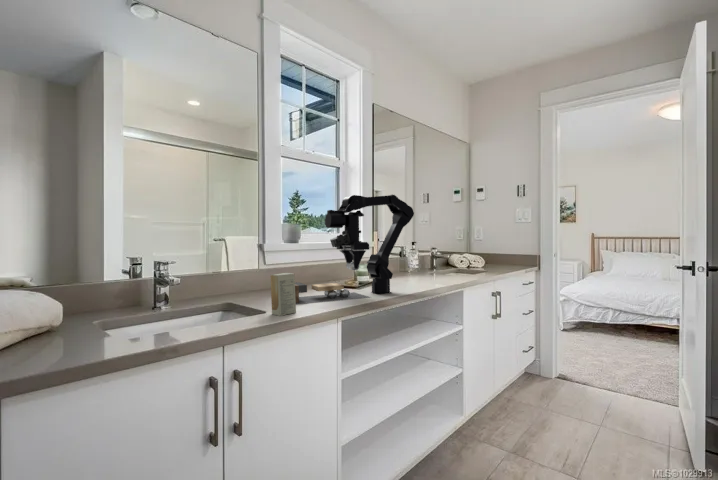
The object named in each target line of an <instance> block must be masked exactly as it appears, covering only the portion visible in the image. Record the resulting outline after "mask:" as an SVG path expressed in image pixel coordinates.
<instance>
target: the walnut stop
mask: <svg viewBox="0 0 718 480" xmlns="http://www.w3.org/2000/svg"><path fill="white" fill-rule="evenodd" d="M304 293H308V284H306V283H302V282H300V281H298V282H296V281H295V299H296V303H299V297H300V294H304Z"/></svg>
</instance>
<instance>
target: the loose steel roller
mask: <svg viewBox="0 0 718 480" xmlns="http://www.w3.org/2000/svg"><path fill="white" fill-rule="evenodd" d="M345 266H346V269H347V270H351V271H358V270H359V269H360V265H359V266H358V268H357V269H355V268H354V263H353V261H352V262H348V263H346V264H345Z"/></svg>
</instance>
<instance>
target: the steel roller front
mask: <svg viewBox="0 0 718 480" xmlns="http://www.w3.org/2000/svg"><path fill="white" fill-rule="evenodd" d="M323 295H325V296H327V297H330V298H332V299H334V298H336V297H337V290H330V291H323Z"/></svg>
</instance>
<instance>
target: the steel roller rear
mask: <svg viewBox="0 0 718 480" xmlns="http://www.w3.org/2000/svg"><path fill="white" fill-rule="evenodd" d="M336 292H337V294H338V295H339V296H342V297H348V296H349V295H350V293H351V292H350V290H349V289H347V288H344V289H342V290H336Z"/></svg>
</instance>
